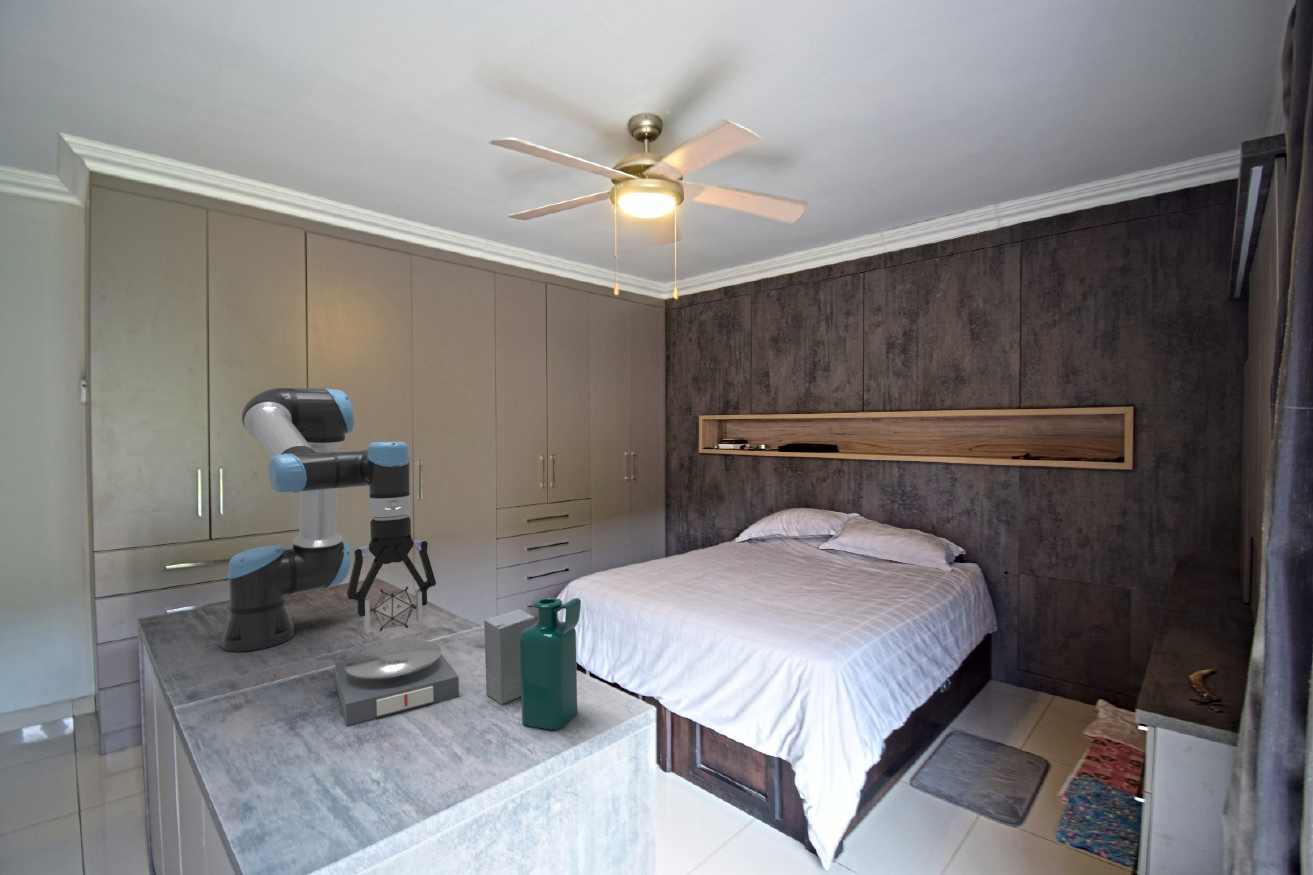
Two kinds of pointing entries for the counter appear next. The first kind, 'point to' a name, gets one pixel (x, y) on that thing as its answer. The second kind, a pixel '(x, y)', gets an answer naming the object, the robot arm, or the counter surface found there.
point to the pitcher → (549, 665)
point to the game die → (393, 608)
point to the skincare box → (504, 654)
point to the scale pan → (393, 659)
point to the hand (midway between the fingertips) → (393, 626)
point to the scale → (394, 691)
